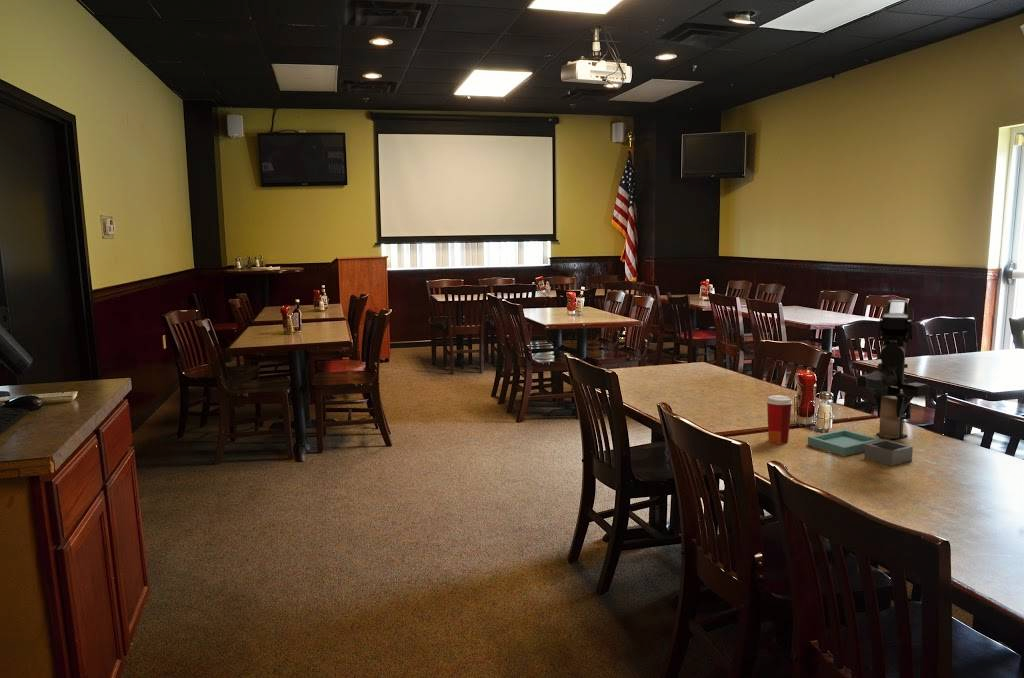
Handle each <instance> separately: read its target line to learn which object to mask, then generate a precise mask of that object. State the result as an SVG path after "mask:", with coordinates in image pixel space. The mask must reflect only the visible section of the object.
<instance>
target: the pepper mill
mask: <svg viewBox="0 0 1024 678" xmlns="http://www.w3.org/2000/svg"><path fill="white" fill-rule="evenodd" d="M897 402H898V399H897V397H896V396H882V397H881V409H880V417H879V432H878V433H879V435H878V436H880V437H881V438H885V439H890V438H899V430H900V417H897ZM899 439H900V438H899Z"/></svg>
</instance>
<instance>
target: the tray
mask: <svg viewBox="0 0 1024 678" xmlns="http://www.w3.org/2000/svg"><path fill="white" fill-rule="evenodd" d="M880 440H883V439H882V438H878V437H875V436H871V435H867V434H863V433H861V432H860V433H859V432H855V431H852V430H847V429H839V430H834V431H830V432H825V433H820V434H815V435H810V436H807V446H810V447H814V448H816V449H820V450H823V451H827V452H830V453H833V454H836V455H839V456H843V457H847V456H850V455H856V454H859V452H860V453H865V444H867V443H871V442H876V441H880ZM855 453H856V454H855Z"/></svg>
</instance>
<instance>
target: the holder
mask: <svg viewBox="0 0 1024 678" xmlns="http://www.w3.org/2000/svg"><path fill="white" fill-rule="evenodd" d="M913 447H914V446H910V445H907V444H903V443H900V442H897V441H892V440H890V439H889V440H888V439H882V440H880V441H876V442H871V443H867V444H865V451H864V452H863V453H864V455H863V457H865V459H868V460H872V461H874V460H875V461H876V462H878V463H882V464H885V465H887V464H888V466H892V467H893V466H896V464H897V465H900V463H901V464H904V463H903V462H905V463H909V462H911V461H913V450H914V448H913ZM908 461H909V462H908Z"/></svg>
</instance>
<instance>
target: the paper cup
mask: <svg viewBox="0 0 1024 678" xmlns="http://www.w3.org/2000/svg"><path fill="white" fill-rule="evenodd" d="M765 402H766V406H767V407H766V409H767V413H766V414H767V433H768V434H767V436H768V437H767V438H768V443H770V442H771V444H774V445H787V444H788V443H789V434H790V426H791V425H790V424H791V415H792V414H791V413H792V412H791V411H792V404H793V403H794V402H793V401H792V398H791V397H789V396H786V395H777V394H776V395H769V396H768V397H767V398H766V400H765Z"/></svg>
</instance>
